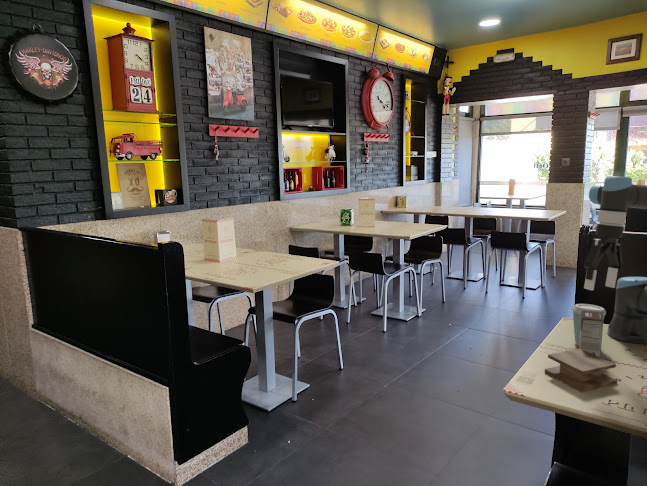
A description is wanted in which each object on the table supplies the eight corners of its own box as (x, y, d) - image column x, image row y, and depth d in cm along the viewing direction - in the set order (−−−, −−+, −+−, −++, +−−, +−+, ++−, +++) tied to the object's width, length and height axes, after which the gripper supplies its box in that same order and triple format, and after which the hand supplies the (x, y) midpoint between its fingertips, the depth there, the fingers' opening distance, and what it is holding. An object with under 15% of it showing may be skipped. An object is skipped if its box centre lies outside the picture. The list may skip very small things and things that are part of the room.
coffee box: (578, 353, 162) (581, 309, 159) (599, 356, 159) (602, 311, 156) (578, 363, 154) (581, 317, 151) (600, 366, 151) (604, 320, 148)
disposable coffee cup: (570, 337, 176) (573, 299, 173) (603, 342, 170) (606, 303, 168) (569, 347, 167) (571, 307, 164) (603, 352, 161) (606, 311, 159)
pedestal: (578, 365, 152) (579, 347, 151) (616, 383, 139) (618, 364, 138) (544, 372, 148) (545, 354, 147) (581, 392, 135) (582, 372, 134)
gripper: (617, 223, 158) (606, 283, 161) (578, 222, 145) (567, 287, 148) (641, 226, 152) (630, 288, 155) (602, 225, 139) (591, 293, 142)
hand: (599, 288), depth 152 cm, fingers open, 13 cm apart
